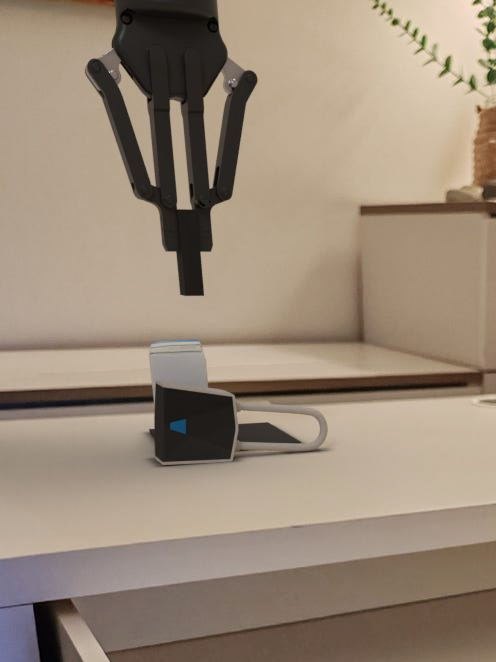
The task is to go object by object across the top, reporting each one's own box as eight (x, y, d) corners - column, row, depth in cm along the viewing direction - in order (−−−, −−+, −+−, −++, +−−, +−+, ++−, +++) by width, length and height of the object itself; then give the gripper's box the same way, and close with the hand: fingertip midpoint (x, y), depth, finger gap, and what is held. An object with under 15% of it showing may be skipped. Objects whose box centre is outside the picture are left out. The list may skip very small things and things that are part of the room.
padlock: (153, 457, 90) (317, 462, 97) (163, 466, 87) (332, 470, 94) (154, 379, 88) (321, 390, 95) (164, 384, 85) (337, 395, 92)
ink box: (149, 340, 100) (146, 350, 89) (202, 339, 101) (205, 349, 90) (159, 429, 103) (157, 449, 92) (210, 426, 104) (214, 446, 93)
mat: (149, 432, 103) (149, 428, 103) (268, 425, 108) (268, 422, 107) (170, 454, 92) (169, 450, 92) (301, 446, 96) (301, 441, 96)
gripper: (239, -18, 82) (260, 293, 91) (66, -37, 77) (104, 294, 86) (261, -41, 76) (281, 296, 84) (73, -63, 71) (114, 297, 79)
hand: (192, 295), depth 85 cm, fingers closed
